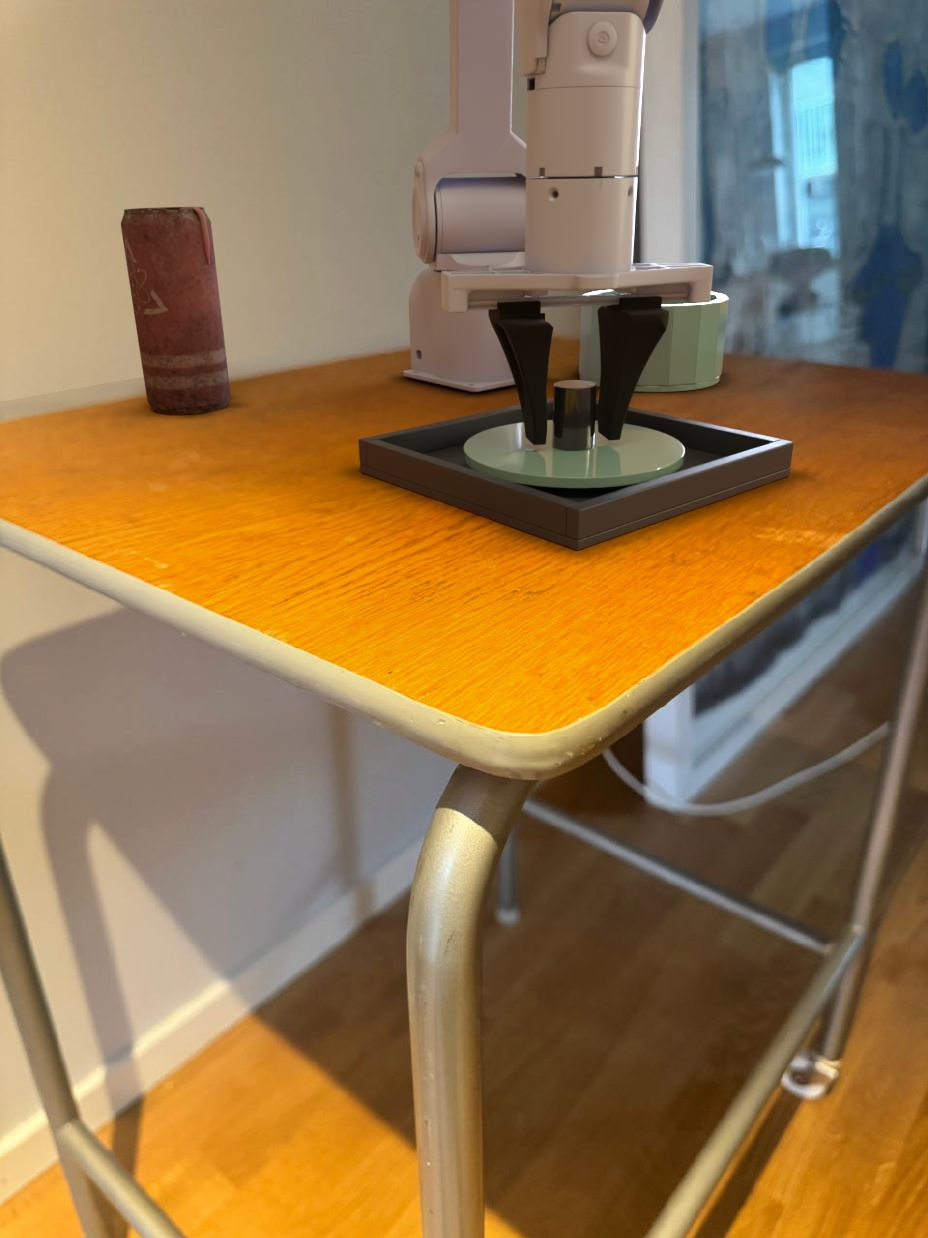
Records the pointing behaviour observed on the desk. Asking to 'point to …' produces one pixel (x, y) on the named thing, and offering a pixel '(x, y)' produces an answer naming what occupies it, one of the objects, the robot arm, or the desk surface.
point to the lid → (574, 448)
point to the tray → (576, 514)
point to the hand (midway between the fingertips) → (572, 438)
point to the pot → (668, 346)
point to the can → (176, 308)
